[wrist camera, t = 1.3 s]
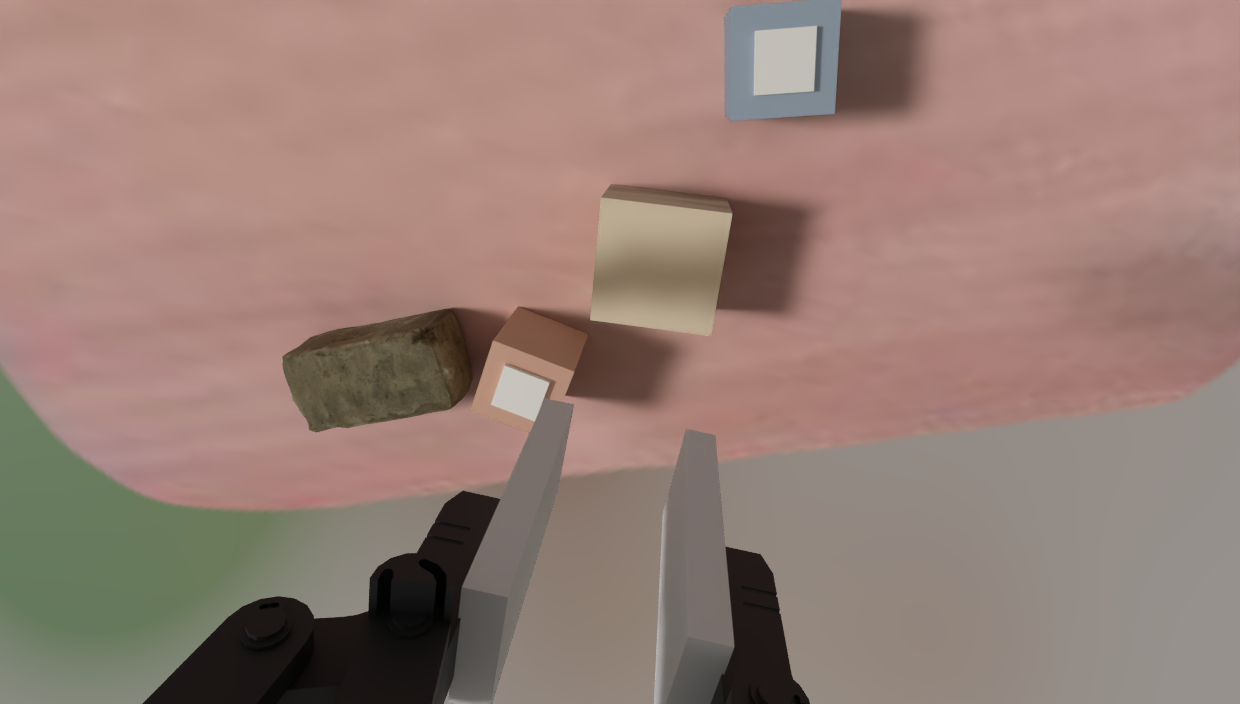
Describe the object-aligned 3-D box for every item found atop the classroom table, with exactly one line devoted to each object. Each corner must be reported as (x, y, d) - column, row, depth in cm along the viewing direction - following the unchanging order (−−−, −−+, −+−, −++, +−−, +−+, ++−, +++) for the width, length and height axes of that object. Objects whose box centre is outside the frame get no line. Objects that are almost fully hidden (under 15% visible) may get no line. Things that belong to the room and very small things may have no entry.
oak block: (611, 183, 38) (601, 197, 33) (726, 197, 38) (732, 213, 33) (600, 293, 41) (589, 320, 36) (707, 307, 40) (711, 336, 36)
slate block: (724, 17, 34) (731, 6, 29) (819, 9, 33) (843, -4, 28) (724, 115, 36) (731, 121, 31) (814, 109, 35) (836, 114, 30)
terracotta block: (518, 306, 41) (491, 342, 36) (588, 333, 42) (573, 373, 36) (497, 369, 43) (468, 413, 38) (564, 395, 44) (546, 442, 38)
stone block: (485, 377, 44) (461, 411, 39) (340, 405, 46) (301, 441, 41) (457, 300, 42) (428, 327, 37) (306, 333, 44) (262, 362, 39)
